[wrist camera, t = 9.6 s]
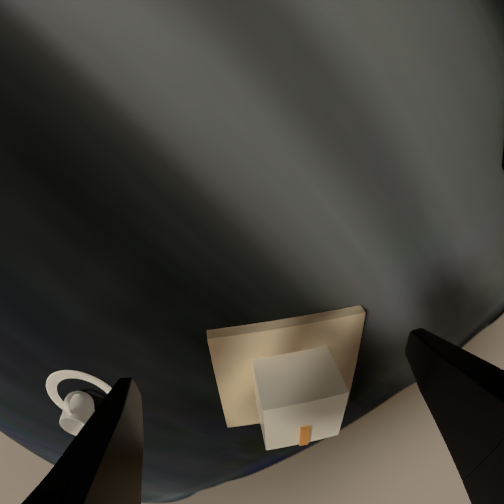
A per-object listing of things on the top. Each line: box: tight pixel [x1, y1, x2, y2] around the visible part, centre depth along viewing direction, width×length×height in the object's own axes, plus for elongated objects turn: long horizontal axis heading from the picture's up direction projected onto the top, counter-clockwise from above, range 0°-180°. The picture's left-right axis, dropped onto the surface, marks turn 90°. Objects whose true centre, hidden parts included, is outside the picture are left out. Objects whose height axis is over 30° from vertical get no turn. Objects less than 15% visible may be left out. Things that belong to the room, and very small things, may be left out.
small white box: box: [252, 346, 349, 450], centre depth 23 cm, size 6×6×5 cm
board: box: [207, 305, 366, 427], centre depth 25 cm, size 12×12×4 cm
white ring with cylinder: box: [46, 370, 112, 436], centre depth 24 cm, size 9×8×4 cm
